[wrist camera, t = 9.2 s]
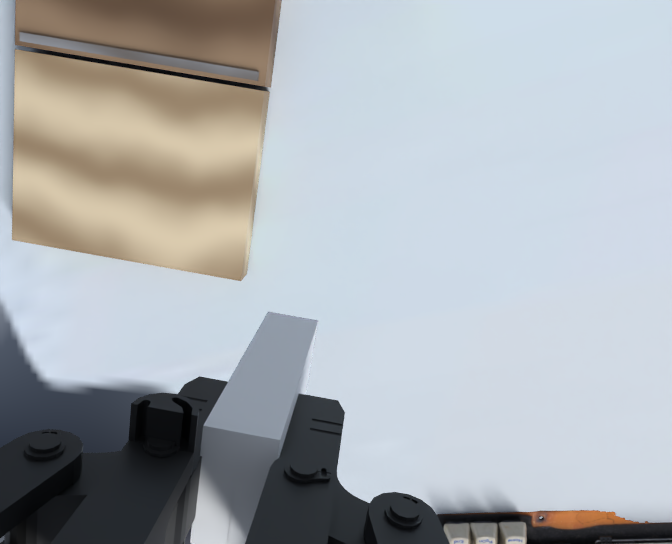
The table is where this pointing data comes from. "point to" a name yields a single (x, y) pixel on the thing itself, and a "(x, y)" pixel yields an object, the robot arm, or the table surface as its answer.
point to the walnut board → (159, 34)
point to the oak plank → (135, 164)
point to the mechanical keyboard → (551, 528)
